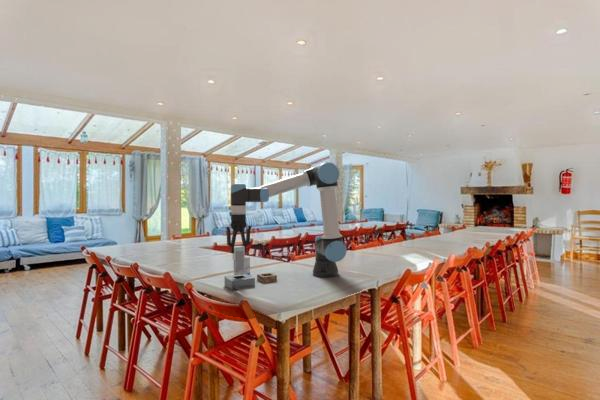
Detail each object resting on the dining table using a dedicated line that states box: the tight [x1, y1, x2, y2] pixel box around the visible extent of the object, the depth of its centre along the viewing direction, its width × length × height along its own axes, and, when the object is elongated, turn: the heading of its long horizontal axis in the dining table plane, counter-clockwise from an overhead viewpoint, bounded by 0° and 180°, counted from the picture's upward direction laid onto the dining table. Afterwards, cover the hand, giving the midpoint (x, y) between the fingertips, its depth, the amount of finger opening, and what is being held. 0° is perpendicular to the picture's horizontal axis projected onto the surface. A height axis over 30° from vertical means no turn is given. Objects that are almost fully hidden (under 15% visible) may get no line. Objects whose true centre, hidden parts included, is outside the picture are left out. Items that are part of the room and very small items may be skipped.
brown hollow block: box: [256, 272, 278, 284], centre depth 188 cm, size 8×8×4 cm
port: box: [224, 274, 256, 292], centre depth 179 cm, size 12×12×5 cm
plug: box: [233, 245, 244, 271], centre depth 179 cm, size 4×4×12 cm
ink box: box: [233, 256, 251, 276], centre depth 201 cm, size 9×5×12 cm, turn 74°
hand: (238, 258), depth 179 cm, fingers closed on plug, 4 cm apart
